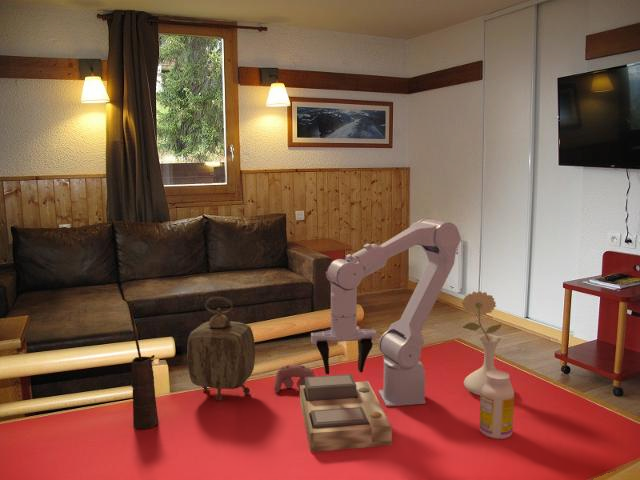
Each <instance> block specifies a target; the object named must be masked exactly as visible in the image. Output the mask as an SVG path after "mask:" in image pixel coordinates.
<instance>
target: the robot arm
mask: <svg viewBox="0 0 640 480" xmlns="http://www.w3.org/2000/svg"><path fill="white" fill-rule="evenodd" d="M461 241H462V238H461V235H460V231H459V228H458V226H456V224H455V223H453V222H451V221H441V220H437V219H433V218H429V217H425V218H422V219H420V220H419V221H415V222H413V223H412V224H411V225H410V226H409V227H407V228H406V229H404V230H402V231H401V232H400V233H398V234H396V235H395V236H393V237H391V238H389V239H388V240H386V241H385V242H383V243H381V244H380V245H379V244H376V243H366V244H364V245H363V248H362V249H360V250H358V251H356V252H354V253H352V254H350V253H349V254H347V255H345V258H344V259H343V258H337V259H335V260H333V261H332V262H330V264H329V266H328V268H327V271H325V277H326V279H327V280H328V281H329V283H330V329H329V330H325V331H317V332H311V333H310V342H311V344H312V345H316V347H317V350H318V352H319V354H320V356H321V358H322V362H323V367H324V372H325V376H328V375H330V363H329V361H330V359H329V358H330V357H329V356H330V347H329V343H336V342H338V343H340V342H352V341H353V342H356V341H357V348H358V349H357V351H358V358H357V370H358V372H359V373H363V372H364V367H365V365H366V364H365V363H366V360H367V358H368V355H369V354H370V352H371V350H372V348H373V345H374V344H373V342H375V341H377V331H376V330H375V329H362V328H361V329H359V328H357V324H358V322H357V317H358V316H357V315H358V312H357V311H358V309H357V304H358V301H357V297H358V296H357V295H358V294H357V290H358V289H357V287H359V285H360V284H361V282H362V280H363V279H365V277H367V276H369V275H371V274H372V273H373V274H374V273H375V272H377V271H378V270H380V269H383V268H384V267H385V266H386V264H387V262H388V259H389V258H392V257H393V256H396V255H398V254H401V253H402V252H404V251H406V250H409V249H411V248H412V247H414V246H421V248H422V249H423V250H424V252H425V253H426V256H427V259H428V263H427V265H426V266H425V268H424V270H423V272H422V274H421V277H420V278H419V281H418V282H417V285H416V287H415V289H414V291H413V293H412V294H411V296H410V298H409V300H408V303H407V304H406V307H405V309H404V311H403V312H402V315H401V317H400V319H399V320H397V321H395V322H393V323H391V324H390V325H389V328H388V329H387V330H386V331H385V332H384V333H383V334H382V335H381V336H380V338H379V341H378V350H379V351H380V353H381V354H383V356H382V357H383V358H382V359H383V388H382V389H379V390H378V394H379V395H380V397H381V399H382V401H383V404H385V406H386V407H401V406H413V405H415V406H416V405H426V402H427V401H426V400H425V399H426V397H425V394H426V393H425V392H426V372H425V366H424V365H423V363H422V362H421V361H420V359H421V355H422V348H423V345H424V344H425V340H424V336H423V333H422V329H423V328H424V325H425V323H426V321H427V319H428V317H429V315H430V314H431V312H432V309H433V307H434V305H435V304H436V302H437V299H438V297H439V295H440V294H441V291H442V289H443V287H444V285H445V283H446V282H447V279H448V278H449V275H450V273H451V271H452V269H453V267H454V265H455V260H456V253H457V250H458V247H459V245H460V243H461Z"/></svg>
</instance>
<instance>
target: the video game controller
mask: <svg viewBox="0 0 640 480" xmlns="http://www.w3.org/2000/svg"><path fill="white" fill-rule="evenodd" d="M305 377H315V372H314V370H313V369H311V368H309V367H308V366H305V365H303V364H289V365H286V366H285V365H284V366H281V367H280V368H279V369H278V370H277V372H276V375H275V378H274V391H275V393H276V394H278V393H279V392H280V391H281V387H282V385H283V384H284V387H285V388H287V389H291V388H293V387H294V385H295V384H294V383H295V382H294V380H293V379H292V378H299V379H298V380H297V382H296V386H297V388H298V389H300V385H305Z"/></svg>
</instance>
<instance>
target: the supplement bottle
mask: <svg viewBox="0 0 640 480" xmlns="http://www.w3.org/2000/svg"><path fill="white" fill-rule="evenodd" d="M486 380H487V382H486V383H484V384H483V385H482V387H481V396H480V399H479V400H480V402H479V403H480V407H479V430H480V432H481V433H482V434H483V435H484V436H486V437H489V438H492V439H497V440H498V439H501V440H502V439H503V440H504V439H507V438H509V437H511V436H512V434H513V431H514V430H513V428H514V427H513V426H514V402H515V390H514V388H513V386H512V387H511V386H510V385H508V384H509V382H511V375H510V373H508V372H506V371H504V370H500V369H497V370H491V371H488V372H487V373H486Z"/></svg>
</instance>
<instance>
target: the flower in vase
mask: <svg viewBox="0 0 640 480" xmlns="http://www.w3.org/2000/svg"><path fill="white" fill-rule="evenodd" d="M461 305H462V307H463V308H464V311H465V312H467V313H468V314H472V315H475V316H478V324H477V323H475V322H469V323H468V322H467V323H465V325H463V326H462V328H463V329H467V330H471V331H477V330H479V329H481V330H482V332H483V334H481V335H480V336H478V337H479V340H480V341H481V343H482V345H483V350H484V351H483V352H484V353H483V355H484V360H483V364H482V366H481V367H480V368H478V369H476V370H475V371H472V372H470V374H469V375H467V376H466V377H465V379H464V380H463V385H464V386H465V388H466V390H467V391H469V392H471V393H472V394H475V395H477V396H480V397H481V387H482V385H483V384H484V383H486V382H487V380H486V373H487V372H488V371H491V370H498V369H497V367H496V366H495V353H496V349H497V345H498V344H499V343H500V341H501V340H502V338H501V337H500V336H498V335H495V334H493V333H496V332H497V331H499V330H500V328H501V327H502V323H500V324H496V325H491V326H489V327H488V328H487V329H486V331H485V330H484V328H483V326H482V323H481V316H482V315H486V314H490V313H492V312H493V311H494V309H495V307H496V308H497V305H496V301H495V298H494V297H493V295H489V294H488V293H487V292H486V291H484V292H482V291H478V292H476V291H472V293H468V294H467V295H465V297H463V300H462V301H461ZM508 385H510V386H511V387H512V388H513V385H512V382H511V381H510V382H509V384H508Z"/></svg>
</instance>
